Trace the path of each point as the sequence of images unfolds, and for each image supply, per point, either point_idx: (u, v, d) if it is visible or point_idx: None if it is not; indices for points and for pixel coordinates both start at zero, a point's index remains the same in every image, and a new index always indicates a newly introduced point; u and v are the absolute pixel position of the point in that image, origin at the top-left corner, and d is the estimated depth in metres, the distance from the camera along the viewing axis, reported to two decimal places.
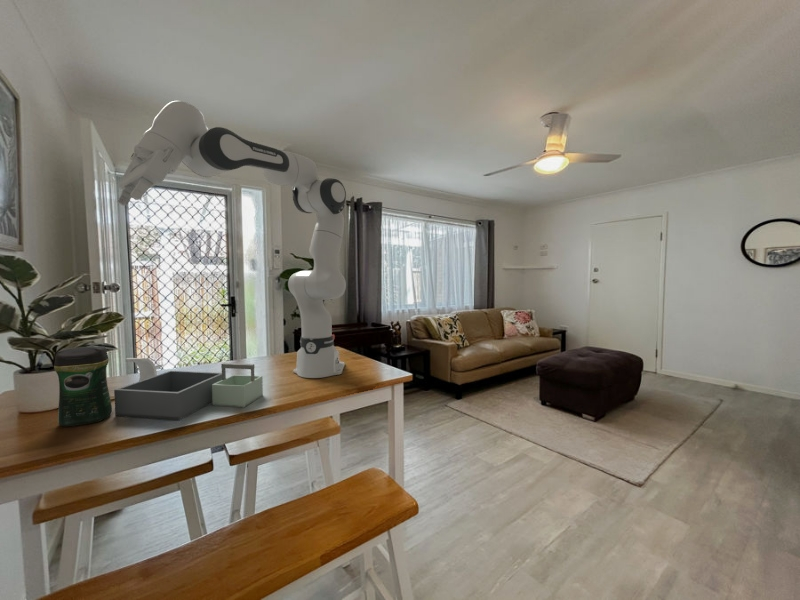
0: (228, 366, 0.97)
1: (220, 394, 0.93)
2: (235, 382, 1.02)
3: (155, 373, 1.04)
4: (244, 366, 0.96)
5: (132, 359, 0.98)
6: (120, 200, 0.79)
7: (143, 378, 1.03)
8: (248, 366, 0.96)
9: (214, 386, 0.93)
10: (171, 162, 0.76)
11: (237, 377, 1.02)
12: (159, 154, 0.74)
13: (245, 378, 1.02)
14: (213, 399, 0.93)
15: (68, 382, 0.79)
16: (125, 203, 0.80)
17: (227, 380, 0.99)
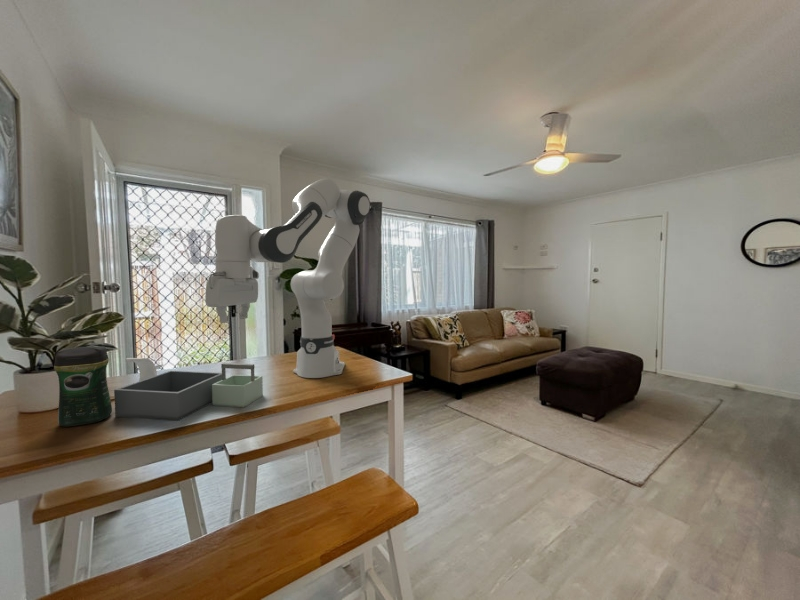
0: (228, 366, 0.97)
1: (220, 394, 0.93)
2: (235, 382, 1.02)
3: (155, 373, 1.04)
4: (244, 366, 0.96)
5: (132, 359, 0.98)
6: (240, 317, 0.99)
7: (143, 378, 1.03)
8: (248, 366, 0.96)
9: (214, 386, 0.93)
10: (216, 285, 0.85)
11: (237, 377, 1.02)
12: (207, 285, 0.85)
13: (245, 378, 1.02)
14: (213, 399, 0.93)
15: (68, 382, 0.79)
16: (243, 317, 0.99)
17: (227, 380, 0.99)
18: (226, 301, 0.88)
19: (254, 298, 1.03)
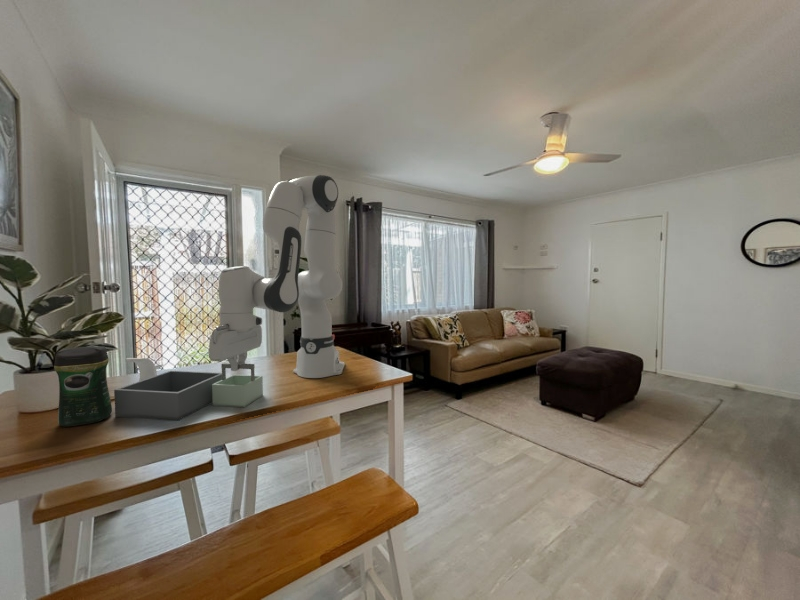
0: (228, 366, 0.97)
1: (220, 394, 0.93)
2: (235, 382, 1.02)
3: (155, 373, 1.04)
4: (244, 366, 0.96)
5: (132, 359, 0.98)
6: None
7: (143, 378, 1.03)
8: (248, 366, 0.96)
9: (214, 386, 0.93)
10: (219, 340, 0.87)
11: (237, 377, 1.02)
12: (210, 340, 0.87)
13: (246, 378, 1.02)
14: (213, 399, 0.93)
15: (68, 382, 0.79)
16: None
17: (227, 380, 0.99)
18: (229, 354, 0.90)
19: (258, 343, 1.04)
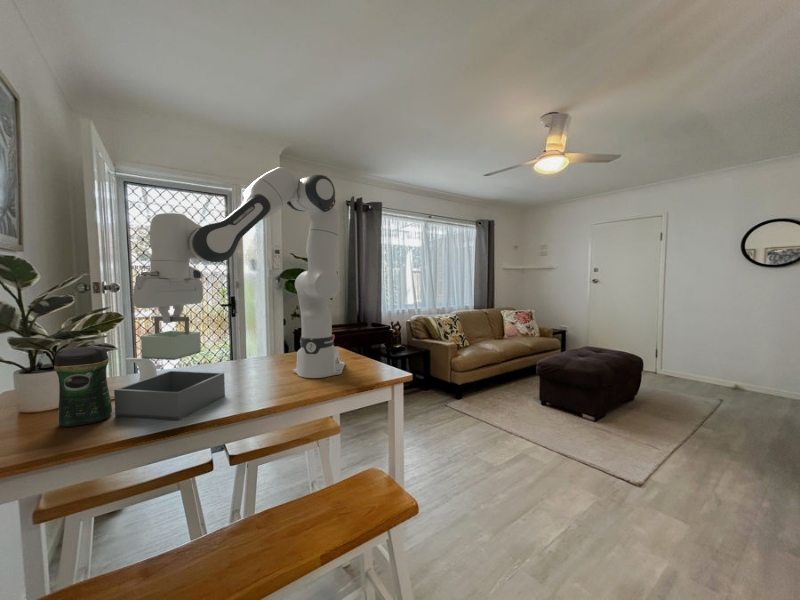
0: (161, 318, 0.92)
1: (149, 346, 0.88)
2: None
3: (155, 373, 1.04)
4: (177, 318, 0.91)
5: (132, 359, 0.98)
6: None
7: (143, 378, 1.03)
8: (182, 318, 0.91)
9: (143, 338, 0.88)
10: (144, 285, 0.82)
11: (174, 333, 0.97)
12: (135, 286, 0.82)
13: (183, 334, 0.96)
14: (142, 351, 0.88)
15: (68, 382, 0.79)
16: None
17: (161, 334, 0.94)
18: (157, 302, 0.85)
19: (197, 299, 0.99)
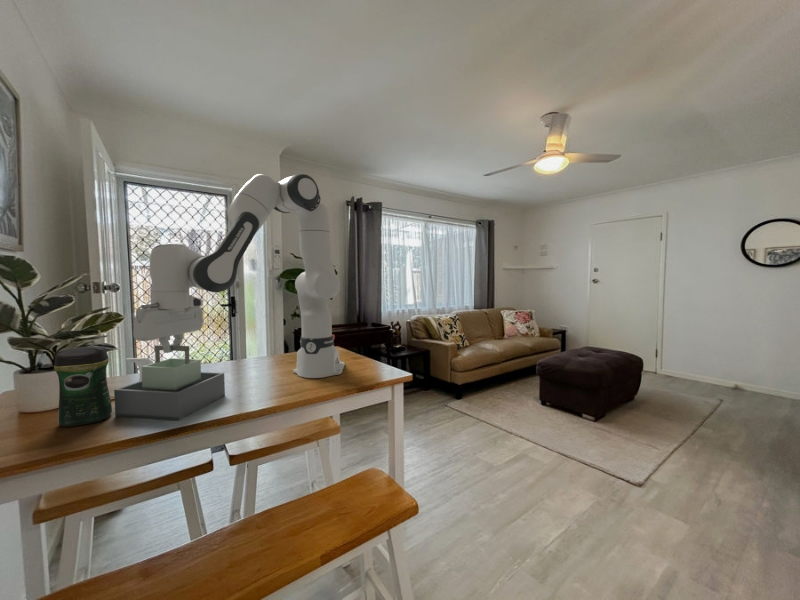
0: (161, 348, 0.92)
1: (150, 376, 0.88)
2: (172, 366, 0.98)
3: None
4: (178, 348, 0.92)
5: (132, 359, 0.98)
6: None
7: None
8: (182, 348, 0.91)
9: (144, 368, 0.89)
10: (145, 318, 0.82)
11: (174, 360, 0.97)
12: (135, 319, 0.83)
13: (183, 361, 0.97)
14: (143, 382, 0.89)
15: (68, 382, 0.79)
16: None
17: (162, 363, 0.95)
18: (157, 334, 0.86)
19: (198, 326, 1.00)
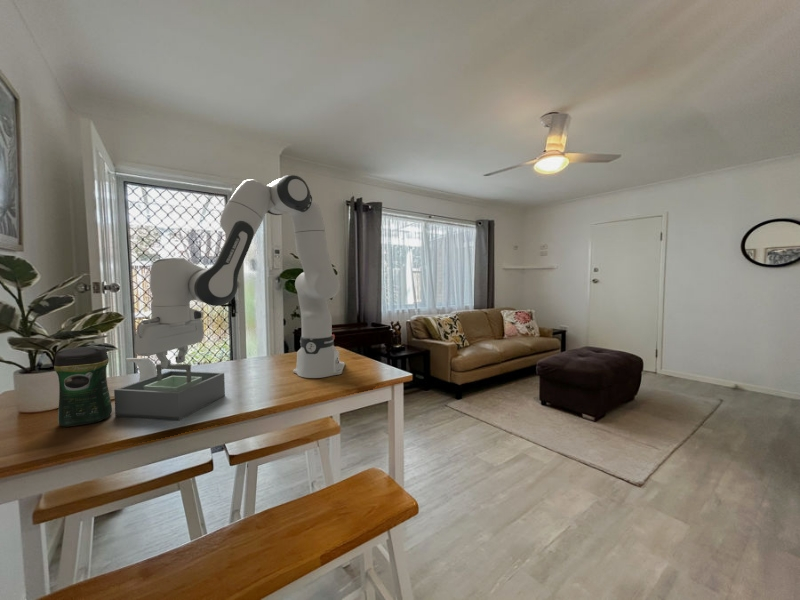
0: None
1: None
2: (174, 383, 0.98)
3: (155, 373, 1.04)
4: (179, 367, 0.92)
5: (132, 359, 0.98)
6: (176, 361, 0.95)
7: (143, 378, 1.03)
8: (183, 367, 0.92)
9: (146, 388, 0.89)
10: (146, 334, 0.83)
11: (176, 378, 0.98)
12: (136, 334, 0.83)
13: (184, 379, 0.98)
14: None
15: (68, 382, 0.79)
16: (179, 361, 0.95)
17: (164, 381, 0.95)
18: (158, 348, 0.86)
19: (198, 338, 1.00)
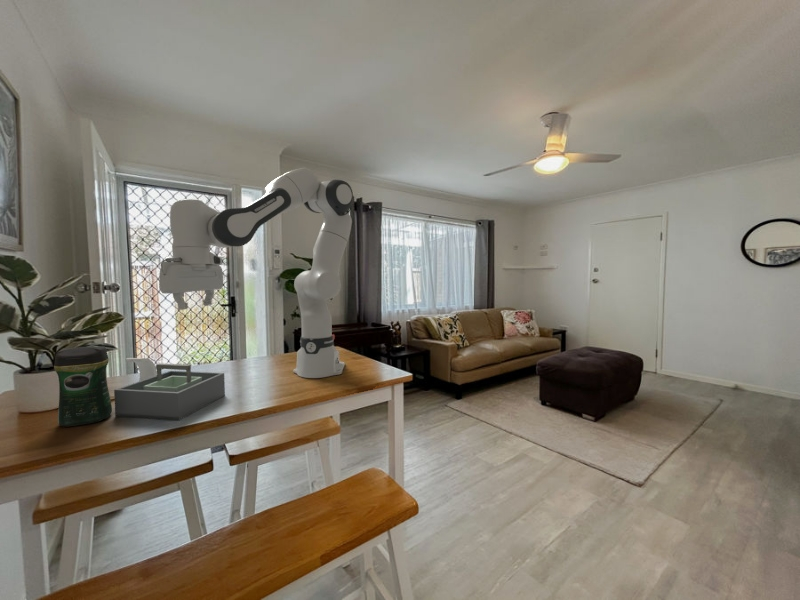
0: (163, 367, 0.93)
1: None
2: (174, 383, 0.98)
3: (155, 373, 1.04)
4: (179, 367, 0.92)
5: (132, 359, 0.98)
6: (204, 304, 0.98)
7: (143, 378, 1.03)
8: (183, 367, 0.92)
9: (146, 388, 0.89)
10: (169, 271, 0.84)
11: (176, 378, 0.98)
12: (160, 272, 0.84)
13: (184, 379, 0.98)
14: None
15: (68, 382, 0.79)
16: (207, 304, 0.98)
17: (164, 381, 0.95)
18: (182, 287, 0.87)
19: (218, 284, 1.01)
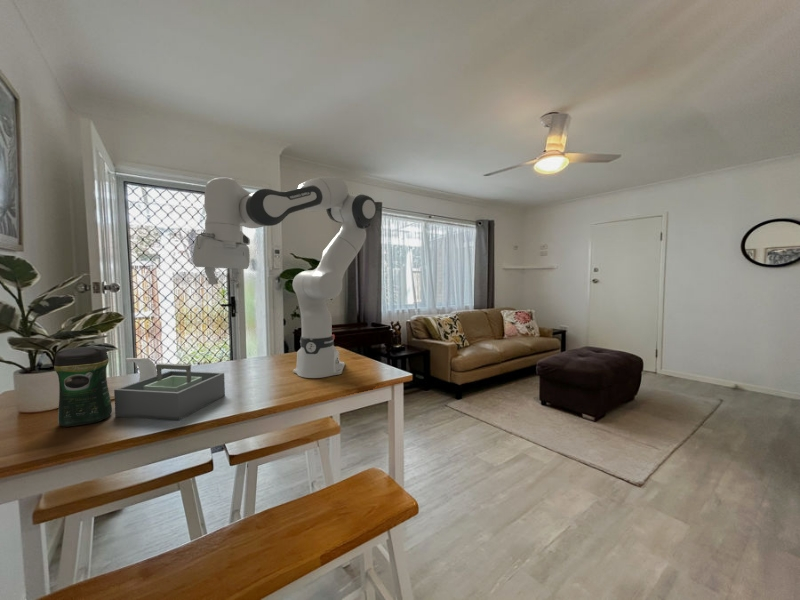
0: (163, 367, 0.93)
1: None
2: (174, 383, 0.98)
3: (155, 373, 1.04)
4: (179, 367, 0.92)
5: (132, 359, 0.98)
6: (231, 282, 1.00)
7: (143, 378, 1.03)
8: (183, 367, 0.92)
9: (146, 388, 0.89)
10: (204, 245, 0.86)
11: (176, 378, 0.98)
12: (195, 245, 0.86)
13: (184, 379, 0.98)
14: None
15: (68, 382, 0.79)
16: (234, 282, 1.00)
17: (164, 381, 0.95)
18: (214, 262, 0.89)
19: (245, 264, 1.03)
